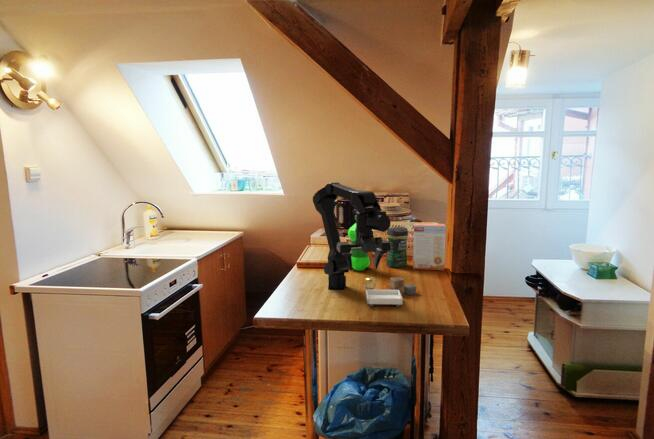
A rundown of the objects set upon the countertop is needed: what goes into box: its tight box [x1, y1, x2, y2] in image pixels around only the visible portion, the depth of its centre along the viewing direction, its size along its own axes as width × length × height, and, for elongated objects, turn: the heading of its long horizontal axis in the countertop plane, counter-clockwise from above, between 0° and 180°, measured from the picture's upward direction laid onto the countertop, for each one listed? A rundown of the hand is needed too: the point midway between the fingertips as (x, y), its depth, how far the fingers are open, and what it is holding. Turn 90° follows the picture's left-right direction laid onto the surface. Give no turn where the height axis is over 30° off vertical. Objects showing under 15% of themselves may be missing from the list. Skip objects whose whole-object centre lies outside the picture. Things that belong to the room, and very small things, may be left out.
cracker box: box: [412, 222, 447, 271], centre depth 179 cm, size 14×6×21 cm, turn 77°
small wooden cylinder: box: [364, 276, 377, 294], centre depth 148 cm, size 4×4×6 cm
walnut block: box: [389, 276, 405, 296], centre depth 148 cm, size 4×4×6 cm
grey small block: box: [403, 284, 417, 296], centre depth 148 cm, size 4×4×3 cm
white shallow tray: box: [365, 289, 404, 308], centre depth 138 cm, size 12×9×3 cm
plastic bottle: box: [347, 214, 371, 272], centre depth 178 cm, size 10×10×25 cm
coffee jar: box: [385, 226, 409, 269], centre depth 184 cm, size 10×8×19 cm
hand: (363, 269), depth 140 cm, fingers open, 9 cm apart
